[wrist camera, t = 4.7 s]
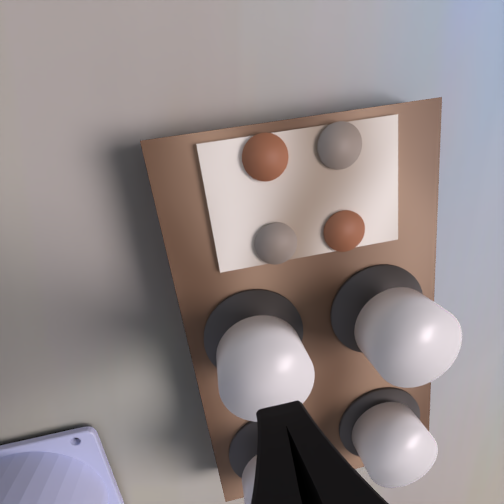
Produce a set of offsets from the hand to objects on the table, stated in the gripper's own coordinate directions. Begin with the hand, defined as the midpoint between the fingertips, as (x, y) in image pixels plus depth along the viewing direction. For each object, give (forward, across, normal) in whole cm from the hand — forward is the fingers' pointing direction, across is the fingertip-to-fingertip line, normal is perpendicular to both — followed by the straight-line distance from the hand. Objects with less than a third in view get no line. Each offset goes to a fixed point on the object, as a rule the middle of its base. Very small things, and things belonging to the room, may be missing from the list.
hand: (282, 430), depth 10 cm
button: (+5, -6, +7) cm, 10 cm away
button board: (+8, -3, 0) cm, 8 cm away
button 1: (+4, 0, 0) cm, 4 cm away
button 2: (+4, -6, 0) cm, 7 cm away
